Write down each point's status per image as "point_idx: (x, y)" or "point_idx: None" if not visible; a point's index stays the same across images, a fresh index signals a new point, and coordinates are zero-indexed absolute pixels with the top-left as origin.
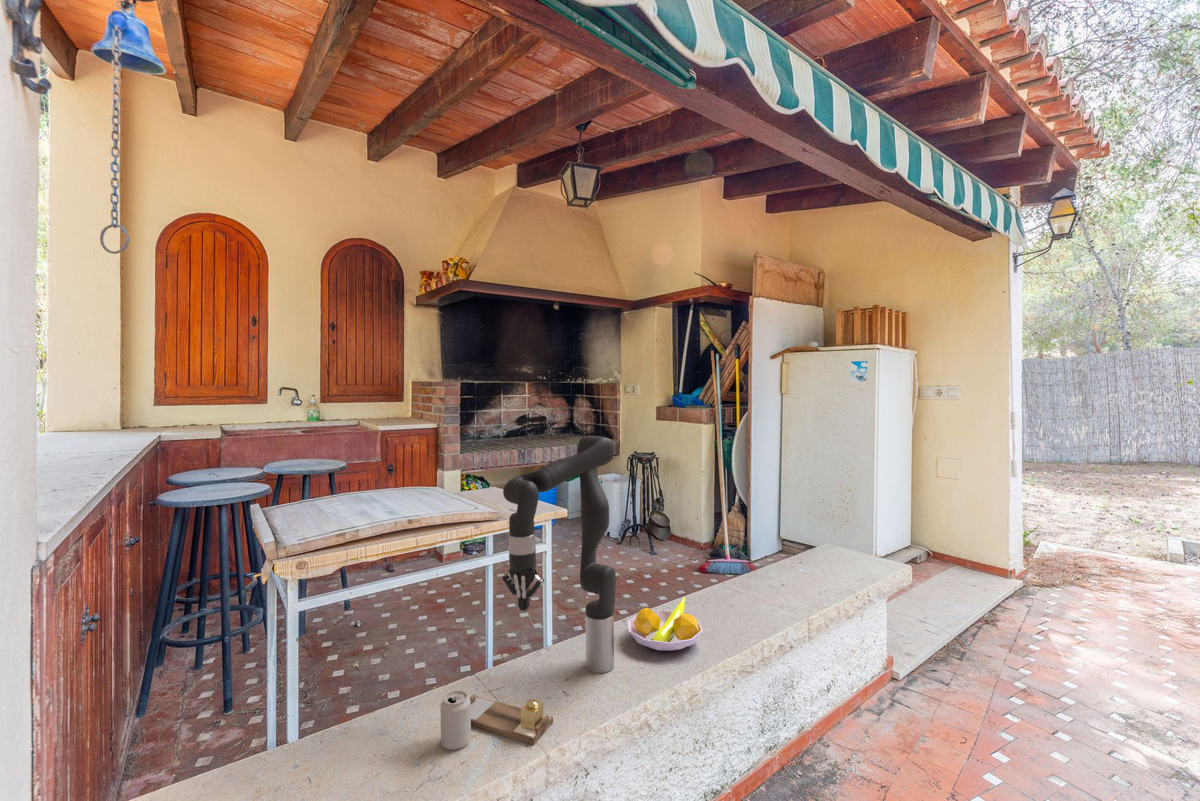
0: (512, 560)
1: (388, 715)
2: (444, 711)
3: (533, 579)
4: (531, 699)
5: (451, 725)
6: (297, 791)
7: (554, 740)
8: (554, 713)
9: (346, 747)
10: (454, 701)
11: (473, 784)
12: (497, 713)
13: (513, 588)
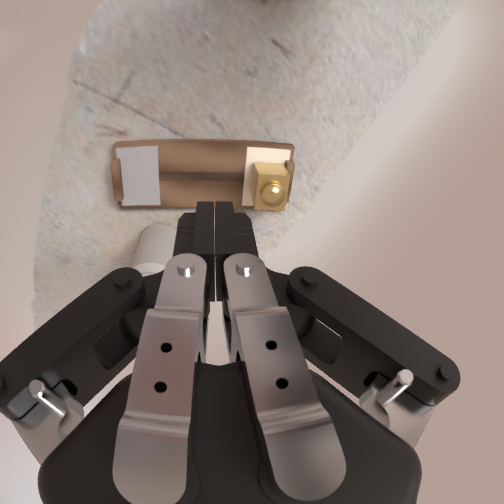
0: None
1: (38, 232)
2: None
3: (358, 415)
4: (268, 189)
5: None
6: None
7: (309, 185)
8: (284, 117)
9: (61, 288)
10: (135, 260)
11: None
12: (185, 173)
13: (130, 354)
